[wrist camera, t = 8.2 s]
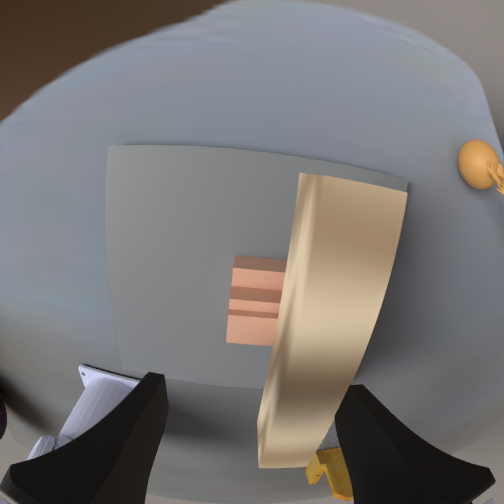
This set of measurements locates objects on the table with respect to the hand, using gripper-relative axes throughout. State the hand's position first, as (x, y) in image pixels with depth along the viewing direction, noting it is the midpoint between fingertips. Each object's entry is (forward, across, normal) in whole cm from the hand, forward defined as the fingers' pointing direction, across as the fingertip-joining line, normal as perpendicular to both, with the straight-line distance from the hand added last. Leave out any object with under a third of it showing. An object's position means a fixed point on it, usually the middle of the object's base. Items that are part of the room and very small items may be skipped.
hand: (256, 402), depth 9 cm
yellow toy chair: (+11, -16, +24) cm, 31 cm away
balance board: (+10, 0, 0) cm, 10 cm away
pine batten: (+5, -3, 0) cm, 5 cm away
